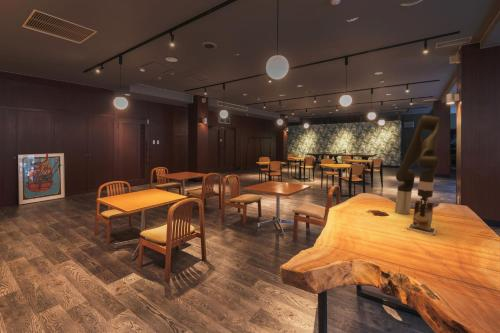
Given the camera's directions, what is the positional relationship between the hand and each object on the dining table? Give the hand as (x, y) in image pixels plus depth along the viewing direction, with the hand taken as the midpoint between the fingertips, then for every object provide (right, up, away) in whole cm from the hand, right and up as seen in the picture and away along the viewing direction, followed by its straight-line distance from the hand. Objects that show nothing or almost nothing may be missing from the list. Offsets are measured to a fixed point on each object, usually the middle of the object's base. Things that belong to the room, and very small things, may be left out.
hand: (422, 214), depth 153 cm
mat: (0, -10, +1) cm, 10 cm away
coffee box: (0, -8, +1) cm, 8 cm away
